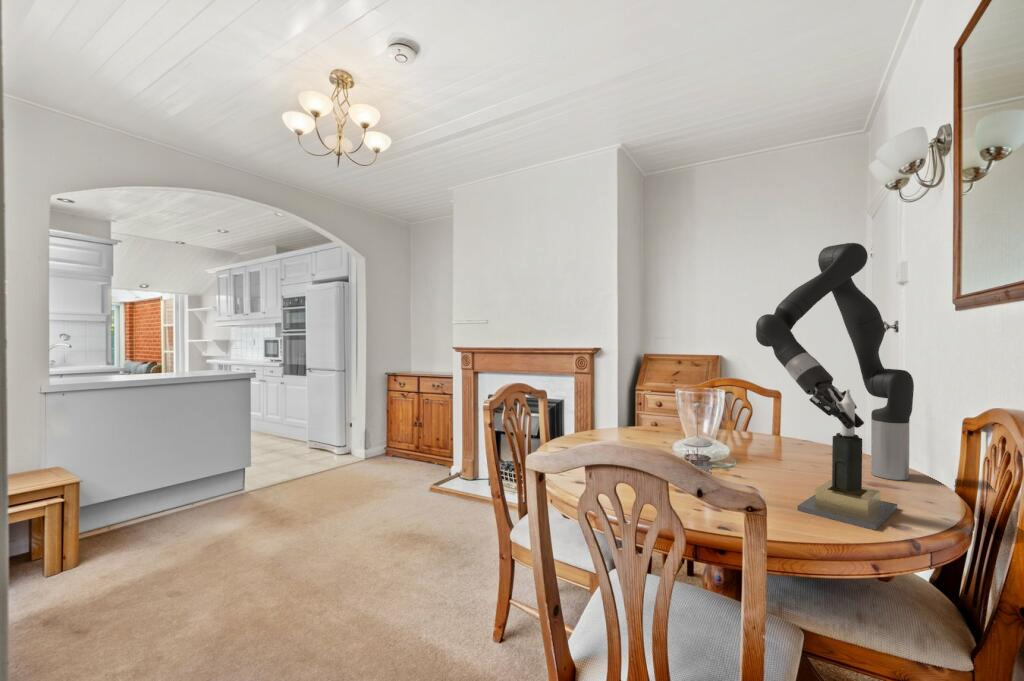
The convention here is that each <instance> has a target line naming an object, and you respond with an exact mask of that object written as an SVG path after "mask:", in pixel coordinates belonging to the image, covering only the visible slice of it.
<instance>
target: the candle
mask: <svg viewBox="0 0 1024 681" xmlns="http://www.w3.org/2000/svg"><path fill="white" fill-rule="evenodd" d="M845 391H846V394H845V397H844V399H843V400H842V401H841V402H840V403H841V408H842V409H843V410H844V412H846V413H847V415H848V416H849V417H850V418H851V419H852V420H853V421H854V422H855V413H856V409H855V405H856V403H855V401H854V400H853V398H852V395H851V393H850V392H851V390H850V389H849V388H847V389H846V390H845ZM839 421H840V420H839ZM839 426H840V427H839V428H840V429H839V430H840V432H837V433H836V435H833V436H832V448H831V449H832V450H831V451H832V453H831V454H832V459H831V460H832V462H831V463H832V464H831V466H832V467H831V468H832V469H831V481H832V486H833V487H837V488H840V489H843V490H846V491H858V490H861V489H862V487H863V438H862V437H859V435H858V434H855V428H856V427H855V426H854V427H852V428H851V429H847V428H846V427H845V426H844V425H843V424H842V422H841V421H840V425H839Z"/></svg>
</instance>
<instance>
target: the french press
mask: <svg viewBox="0 0 1024 681" xmlns="http://www.w3.org/2000/svg"><path fill="white" fill-rule="evenodd" d="M701 407H702V406H701V404H700V403H699V402H696V403H694V404H693V408H695V409H696V436H691V437H688V438H686V439H684V440H682V444H683V445H684V446H687V447H690V448H696V453H695V450H692V452H691V453H690V450H689V449H686V452H685V453H684V455H683V460H684V459H685V460H687V461H689V462H691V463H692V464H694V465H695V466H697V467H698V468H700V469H701V470H704V471H706V472H708V473H710V474H709V475H711V474H712V475H713V472H712V471H713V463H712V462H711V459H712V457H711V456H709V455H705V454H702V453H701V454H700V453H699V448H711V446H713V442H711V441H710V440H708V439H707V438H705V437H700V436H699V432H698V431H699V429H698V428H699V425H698V424H699V421H698V420H699V417H698V416H699V415H698V413H699V409H701ZM710 470H711V471H710Z"/></svg>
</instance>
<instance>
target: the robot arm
mask: <svg viewBox="0 0 1024 681" xmlns="http://www.w3.org/2000/svg"><path fill="white" fill-rule="evenodd" d="M868 255H869V254H868V252H867V249H866V248H865V246H864V245H862V244H860V243H857V242H846V243H840V244H834V245H833V244H832V245H830V246H829V245H828V246H826V247H823V248H822V250H821V251H820V252H819V254H818V257H817V258H818V259H817V263H818V267H819V270H820V273H819V274H818V275H816V276H815V277H813V278H811V279H810V280H807V281H806V282H804V283H803V284H800V286H798V287H796V288H795V289H794V290H792V291H791V292H790V293H789V294H788V295H787V296H786V297H785V298H784V299H783V300H782V301H780V302H779V304H778V305H777V306H776V308H775V311H774V313H773V314H772V313H771V314H770V313H767V314H766V313H765V314H764V315H760V317H759V318H758V319H757V321H756V325H755V330H756V331H755V338H756V341H757V342H758V343H759V345H761V346H764V347H767V348H768V347H769V348H770V347H771V348H772V349H773V354H774V356H775V357H776V359H777V360H778V362H779V363H780V364H781V365H782V366H783V367H784V369H785V370H786V371H787V372H788V374H789V375H790V377H791V378H792V379H793V380H794V381H795V383H796V384H797V385H798V386H799V387H800V388H801V389H802V391H804V392H805V394H807V395H809V396H811V395H812V396H811V397H810V398H809V401H810V403H812V404H813V405H814V406H816V408H818V409H820V410H821V411H822V412H823V413H824V414H826V415H827V416H829V417H831V416H833V417H834V418H837V419H838V420H839V421H841V422H842V424H843V425H844V426H845V427H846V428H847V429H851V428H852V427H854V426H855V428H858V429H859V428H861V427H862V426H863V425H865V421H864V420H863V419H862V418H861V417H860V416H859V415H858V414H857V413H856V412H855V422H854V421H853V420H852V419H851V418H850V417H849V416H848V415H847V413H846V412H844V410H843V409H842V408H841V401H842V400H843V399H844V397H845V394H846V390H844V391H841V390H839V389H838V387H835V385H833V382H834V377H833V376H832V375H831V373H829V372H828V371H827V370H826V368H824V366H823V365H822V364H821V363H820V362H819V361H818V360H817V359H816V358H815V357H814V356H813V355H811V354H810V353H809V352H808V351H807V350H806V349H805V348H804V347H803V345H802V344H800V343H799V341H797V339H796V337H795V335H794V333H793V332H792V331H791V330H792V329H793V328H794V326H795V325H796V324H797V322H798V321H799V320H800V319H801V318H803V317H804V316H805V315H806V314H807V313H808V312H809V311H810V310H811V309H812V308H813V307H814V306H816V304H817V303H819V301H820V300H822V299H824V297H826V296H827V295H828V294H829V293H831V294H832V295H833V297H834V300H835V302H836V304H837V307H838V309H839V312H840V315H841V316H842V320H843V324H844V325H845V326H844V327H845V329H846V331H847V334H848V336H849V338H850V340H851V343H852V346H853V349H854V352H855V354H856V357H857V358H856V359H857V362H858V365H859V369H860V373H861V376H862V377H861V378H862V381H863V383H864V387H865V389H866V391H867V392H868V393H869V395H871V396H873V397H875V398H876V397H877V398H881V399H887V401H886V405H885V406H883V407H880V408H876V409H875V408H874V409H873V410H872V411H871V418H870V419H871V422H870V423H871V424H870V425H871V426H870V427H871V430H870V431H871V433H870V434H871V436H870V442H871V443H870V444H871V445H870V446H871V447H870V448H871V449H870V453H871V454H870V455H871V456H870V457H871V460H870V470H871V471H870V473H871V475H873V476H875V477H877V478H881V479H886V480H894V481H907V480H909V479H910V418H911V416H912V412H913V403H914V389H915V388H914V387H915V384H914V379H913V376H912V374H911V373H910V372H909V371H907V370H904V369H896V368H885V367H884V366H883V363H882V361H881V358H880V353H879V352H880V348H881V346H882V343H883V340H884V337H885V333H886V327H885V324H884V321H883V317H882V315H881V312H880V310H879V308H878V307H877V305H876V304H875V303H874V302H873V301H872V299H870V298H869V297H868V296H867V295H866V294H865V293H864V292H863V291H861V290H860V289H859V288H858V286H856V284H855V282H854V281H853V278H852V277H853V276H855V275H856V274H857V273H859V272H860V271H862V269H864V267H866V264H867V262H868ZM856 409H858V406H857V405H856V404H855V410H856Z"/></svg>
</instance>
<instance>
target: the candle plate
mask: <svg viewBox="0 0 1024 681" xmlns="http://www.w3.org/2000/svg"><path fill="white" fill-rule="evenodd" d="M814 490H815V491H814V492H815V494H813V495H812V496H811V497H809V498H808V499H806V500H804V501H803V502H801V503H799V504H798V505H797V511H799V512H802V513H807V514H810V515H815V516H819V517H822V518H826V519H829V520H834V521H838V522H842V523H844V524H845V523H846V524H849V525H853V526H858V527H862V528H865V529H869V530H872V531H876V530H877V531H878V529H879V528H880V527H881V526H882V524H884V523H885V522H886V520H888V518H890V517H891V516H892V515H893V514H894V513H895V512H896V511H897V509H898V503H895V502H890V501H886V500H881V490H880V489H874V488H870V487H865V486H864V487H863V486H862V489H861V490H858V491H846V490H843V489H840V488H837V487H833V486H832V479H831V480H830V479H829V480H828V481H827V482H825V483H823V484H821V485H819V486H818V487H817V488H815V489H814Z"/></svg>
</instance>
